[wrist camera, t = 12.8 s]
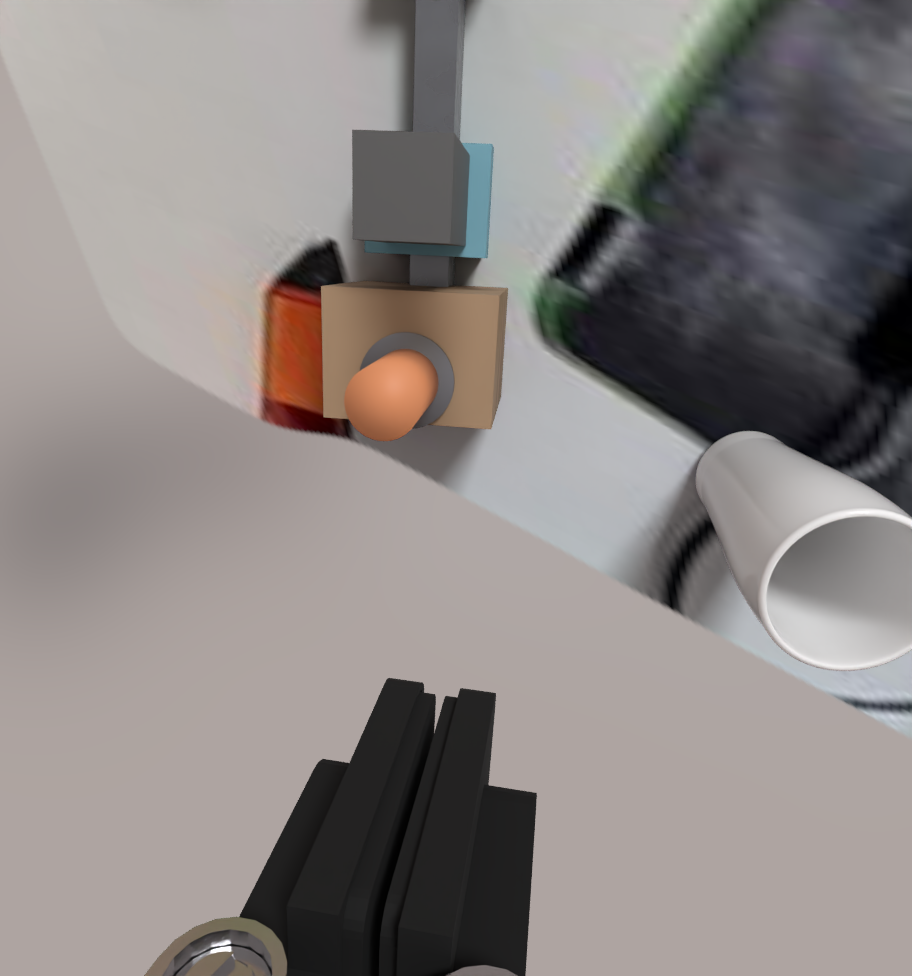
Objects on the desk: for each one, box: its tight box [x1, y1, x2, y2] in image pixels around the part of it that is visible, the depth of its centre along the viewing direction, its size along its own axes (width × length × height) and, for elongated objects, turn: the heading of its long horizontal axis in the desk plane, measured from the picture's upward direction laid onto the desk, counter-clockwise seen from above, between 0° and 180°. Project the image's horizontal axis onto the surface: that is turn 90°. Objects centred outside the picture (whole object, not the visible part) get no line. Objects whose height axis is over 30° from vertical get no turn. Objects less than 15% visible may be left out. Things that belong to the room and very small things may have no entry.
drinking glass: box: [696, 431, 912, 671], centre depth 32 cm, size 7×7×15 cm
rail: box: [410, 0, 466, 287], centre depth 33 cm, size 5×16×4 cm, turn 178°
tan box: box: [321, 281, 508, 429], centre depth 35 cm, size 8×6×8 cm
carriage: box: [352, 130, 494, 258], centre depth 32 cm, size 6×5×10 cm
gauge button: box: [344, 349, 438, 441], centre depth 29 cm, size 3×3×5 cm
